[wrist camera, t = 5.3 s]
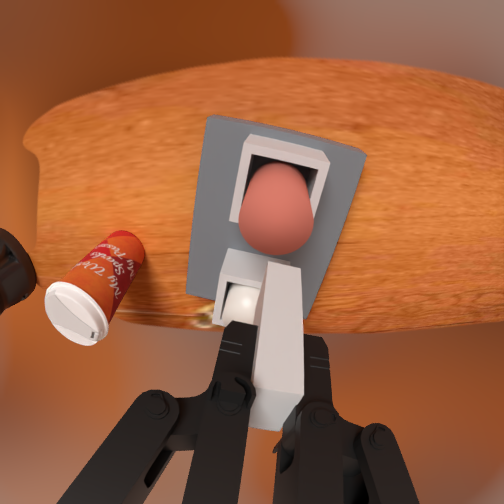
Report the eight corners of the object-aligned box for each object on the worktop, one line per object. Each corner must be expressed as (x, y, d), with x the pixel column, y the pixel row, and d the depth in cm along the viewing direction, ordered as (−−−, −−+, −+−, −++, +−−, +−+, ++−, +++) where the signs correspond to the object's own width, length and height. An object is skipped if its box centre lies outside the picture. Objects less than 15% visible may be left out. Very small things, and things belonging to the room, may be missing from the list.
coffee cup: (160, 242, 38) (109, 320, 25) (142, 283, 42) (97, 359, 29) (108, 211, 37) (40, 275, 24) (95, 255, 41) (39, 321, 28)
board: (191, 280, 41) (174, 319, 34) (214, 114, 29) (192, 123, 23) (305, 304, 41) (307, 347, 34) (359, 149, 30) (381, 167, 23)
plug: (229, 291, 37) (219, 331, 31) (236, 258, 35) (225, 297, 29) (268, 300, 37) (265, 341, 31) (278, 267, 35) (276, 308, 29)
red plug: (244, 208, 27) (232, 246, 21) (255, 155, 25) (245, 179, 19) (298, 220, 27) (302, 261, 21) (313, 168, 25) (322, 197, 19)
